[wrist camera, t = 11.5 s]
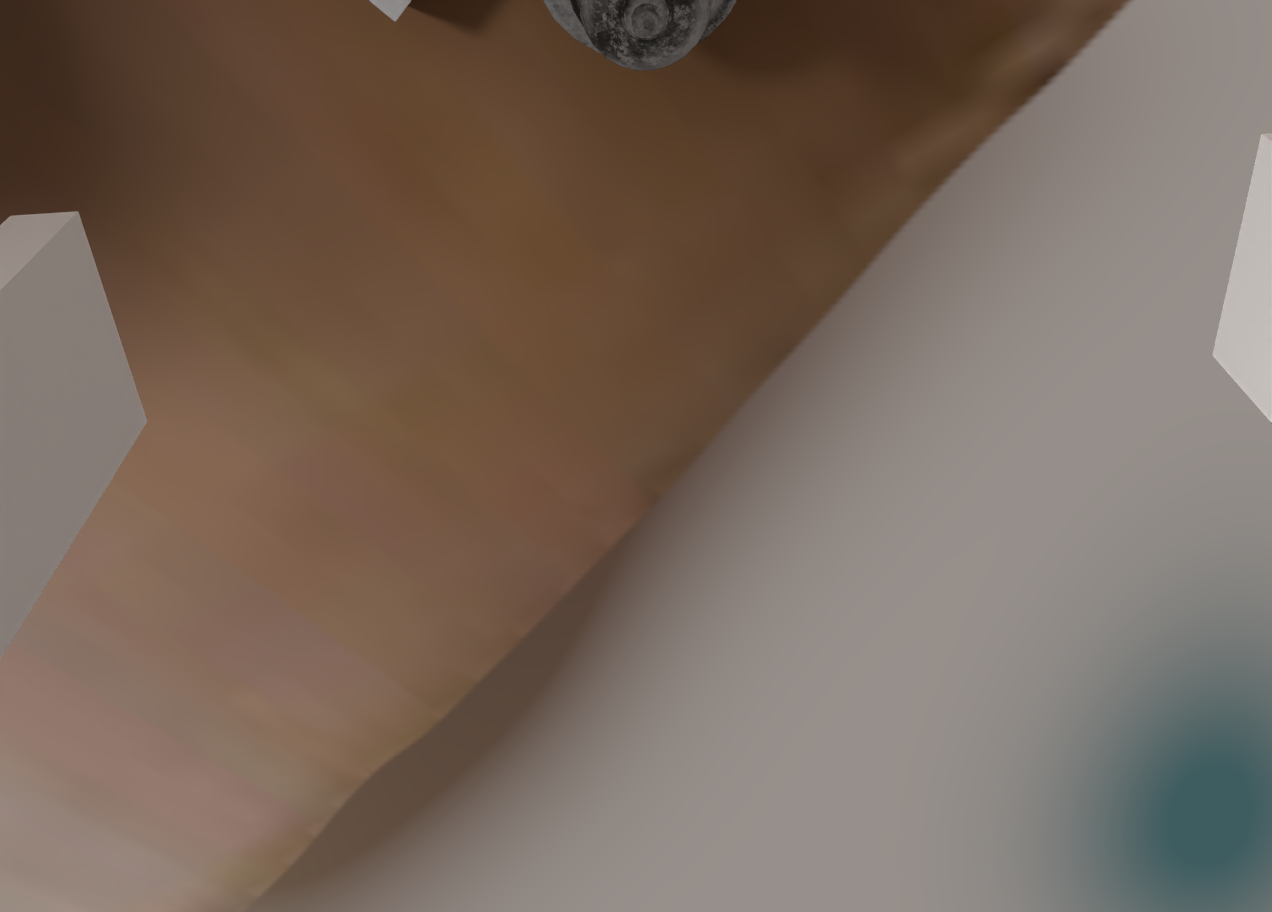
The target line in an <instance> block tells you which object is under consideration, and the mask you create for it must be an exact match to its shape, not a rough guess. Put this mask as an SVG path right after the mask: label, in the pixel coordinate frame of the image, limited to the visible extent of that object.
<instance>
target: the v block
mask: <svg viewBox="0 0 1272 912" xmlns="http://www.w3.org/2000/svg"><path fill="white" fill-rule="evenodd" d="M369 1H370V2H372V3H373V4H374V5H375V6H376V7H378V8H379V9H380V10H381V11H382V12H384V13H385V14H386V15H387V16H388V17H390V18H391V19H392V20H393V21H395V22H396V20H397V19H398V18H399V16H400V15H401V14H402V12H403V11H404V10H405V8H406V7H407V6H408V4H409V3H410V2H411V0H369Z"/></svg>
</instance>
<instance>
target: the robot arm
mask: <svg viewBox="0 0 1272 912" xmlns="http://www.w3.org/2000/svg"><path fill="white" fill-rule="evenodd" d="M1212 356H1213V357H1214V358H1215V359H1216V360H1217V361H1218V363H1219V364H1220V365H1221V366H1222V367H1223V368H1224V369H1225V371H1226V372H1227V373H1228V374H1229V375H1230V376H1231V378H1232V379H1233V380H1234V381H1235V382H1236V383H1237V384H1238V386H1239V387H1240V388H1241V389H1242V390H1243V391H1244V392H1245V393H1246V395H1247V396H1248V397H1249V398H1250V399H1251V400H1252V401H1253V403H1254V404H1255V405H1256V406H1257V407H1258V408H1259V409H1260V411H1261V412H1262V413H1263V414H1264V415H1265V416H1266V417H1267V419H1268V420H1269V421H1270V422H1271V423H1272V133H1265V134H1261V137H1260V141H1259V146H1258V150H1257V155H1256V160H1255V164H1254V169H1253V173H1252V178H1251V182H1250V187H1249V191H1248V196H1247V200H1246V205H1245V209H1244V214H1243V218H1242V223H1241V227H1240V232H1239V236H1238V241H1237V245H1236V250H1235V254H1234V259H1233V263H1232V268H1231V273H1230V277H1229V281H1228V286H1227V290H1226V295H1225V300H1224V304H1223V309H1222V313H1221V317H1220V322H1219V327H1218V331H1217V336H1216V340H1215V345H1214V350H1213V354H1212ZM146 423H147V420H146V417H145V413H144V410H143V407H142V404H141V401H140V398H139V395H138V392H137V389H136V386H135V383H134V380H133V377H132V374H131V371H130V368H129V365H128V362H127V359H126V356H125V353H124V349H123V346H122V343H121V340H120V337H119V334H118V331H117V328H116V325H115V322H114V319H113V316H112V313H111V310H110V307H109V304H108V301H107V298H106V295H105V292H104V289H103V285H102V282H101V279H100V276H99V273H98V270H97V267H96V264H95V261H94V258H93V255H92V252H91V249H90V246H89V243H88V240H87V237H86V234H85V231H84V228H83V225H82V221H81V218H80V215H79V212H78V211H75V212H60V213H45V214H30V215H14V216H10V217H9V218H7V219H6V220H5V221H4V222H3V223H2V224H1V225H0V659H1V657H2V656H3V654H4V653H5V651H6V649H7V648H8V646H9V644H10V643H11V641H12V640H13V638H14V636H15V635H16V633H17V632H18V630H19V628H20V627H21V625H22V623H23V622H24V620H25V619H26V617H27V615H28V614H29V612H30V610H31V609H32V607H33V606H34V604H35V602H36V601H37V599H38V598H39V596H40V594H41V593H42V591H43V589H44V588H45V586H46V585H47V583H48V581H49V580H50V578H51V576H52V575H53V573H54V572H55V570H56V568H57V567H58V565H59V564H60V562H61V560H62V559H63V557H64V555H65V554H66V552H67V551H68V549H69V547H70V546H71V544H72V543H73V541H74V539H75V538H76V536H77V534H78V533H79V531H80V530H81V528H82V526H83V525H84V523H85V521H86V520H87V518H88V517H89V515H90V513H91V512H92V510H93V509H94V507H95V505H96V504H97V502H98V500H99V499H100V497H101V496H102V494H103V492H104V491H105V489H106V487H107V486H108V484H109V483H110V481H111V479H112V478H113V476H114V475H115V473H116V471H117V470H118V468H119V466H120V465H121V463H122V462H123V460H124V458H125V457H126V455H127V454H128V452H129V450H130V449H131V447H132V445H133V444H134V442H135V441H136V439H137V437H138V436H139V434H140V432H141V431H142V429H143V428H144V426H145V424H146Z"/></svg>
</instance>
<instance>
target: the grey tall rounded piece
mask: <svg viewBox="0 0 1272 912" xmlns="http://www.w3.org/2000/svg"><path fill="white" fill-rule="evenodd" d="M543 1H544V3H545V5H546V6H547V8H548V10H549V11H550V13H551V14H552V16H553V18H554V19H555V20H556V21H557V22H558V23H559V24H560V25H561V26H562V27H563V28H564V29H565V30H566V31H567V32H568V33H569V34H570V35H571V36H572V37H573V38H574V39H575V40H577V41H579V42H581V43H583V44H584V45H586V46H588V47H590V48H591V49H593V50H595V51H597V52H599V53H600V54H603V55H604V56H605V57H606V58H607V59H609V60H610V61H612V62H614V63H616V64H618V65H620V66H621V67H625V68H629V69H633V70H637V71H638V70H656V69H659V68H663V67H666V66H670V65H671V64H673V63H675V62H676V61H678V60H680V59H681V58H683V57H684V56H685V55H686V54H687V53H688V52H689V51H690V50H691V49H692V48H693V47H694V46H695V45H696V44H697V43H698V42H700V41H702V40H703V39H705V38H707V37H708V36H709V35H710V34H711V33H712V32H713V31H714V30H715V29H716V28H717V27H718V26H719V25H720V24H721V23H722V22H723V21H724V20H725V18H726V17H727V16H728V15H729V13H730V11H731V10H732V8H733V6H734V4H735V3H736V1H737V0H543Z"/></svg>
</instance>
